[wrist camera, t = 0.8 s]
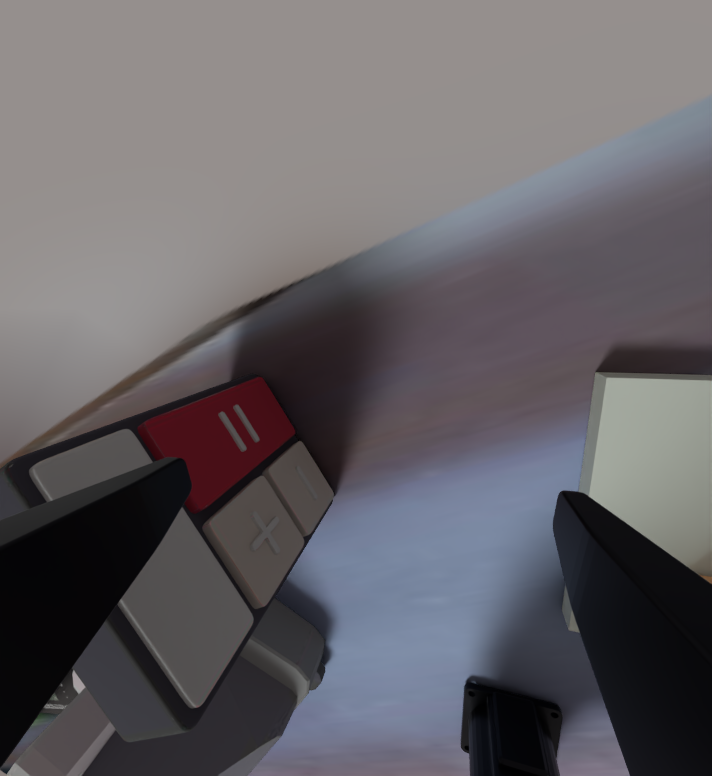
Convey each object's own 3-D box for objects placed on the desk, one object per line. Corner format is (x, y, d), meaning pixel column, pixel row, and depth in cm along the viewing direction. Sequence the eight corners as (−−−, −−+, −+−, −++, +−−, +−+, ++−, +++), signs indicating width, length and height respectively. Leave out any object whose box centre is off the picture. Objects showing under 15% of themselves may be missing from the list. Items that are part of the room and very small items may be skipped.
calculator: (343, 495, 25) (205, 738, 11) (298, 515, 27) (127, 750, 13) (264, 366, 25) (9, 453, 11) (222, 393, 26) (-49, 502, 12)
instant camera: (182, 500, 30) (-56, 675, 16) (362, 668, 29) (276, 1010, 15) (97, 619, 37) (-118, 810, 23) (238, 755, 36) (102, 1040, 22)
